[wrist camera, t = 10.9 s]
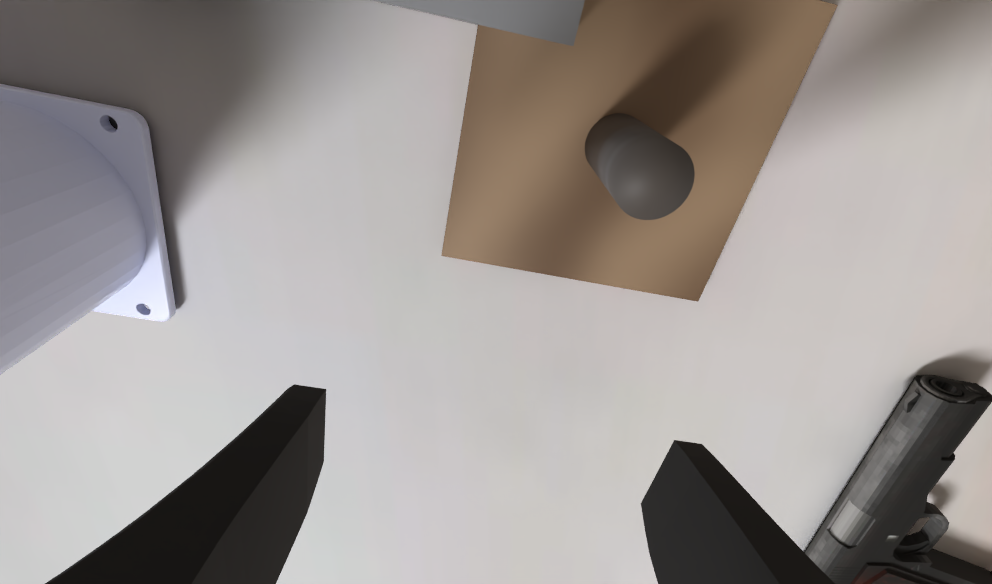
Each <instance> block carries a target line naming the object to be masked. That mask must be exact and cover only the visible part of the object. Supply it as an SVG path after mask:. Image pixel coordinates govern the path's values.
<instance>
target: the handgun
mask: <svg viewBox="0 0 992 584" xmlns="http://www.w3.org/2000/svg"><path fill="white" fill-rule="evenodd" d="M991 402H992V395H991V394H990V393H989V392H987V390H986V389H984V388H983V387H981V386H979V385H978V384H976V383H970V382H964V381H955V380H951V379H947V378H942V377H938V376H934V375H925V376H916V377H915V379H914V381H913V382H912V384H911V385H910V387H909V388H908V390H907V392H906V393H905V395H904V396H903V398H902V399H901V401H900V403H899V404H898V406H897V407H896V409H895V411H894V412H893V414H892V415H891V417H890V418H889V420H888V422H887V423H886V425H885V426H884V428H883V429H882V431H881V433H880V434H879V436H878V437H877V439H876V440H875V442H874V444H873V445H872V447H871V448H870V450H869V452H868V453H867V455H866V456H865V458H864V459H863V461H862V463H861V464H860V466H859V467H858V469H857V470H856V472H855V474H854V475H853V477H852V478H851V480H850V482H849V483H848V485H847V486H846V488H845V489H844V491H843V493H842V494H841V496H840V497H839V499H838V500H837V502H836V504H835V505H834V507H833V508H832V510H831V511H830V513H829V515H828V516H827V518H826V519H825V521H824V523H823V524H822V526H821V527H820V529H819V530H818V532H817V534H816V535H815V537H814V538H813V540H812V541H811V543H810V545H809V546H808V548H807V549H806V551H805V554H806V555H807V556H808V557H809V558H810V559H811V560H812V561H813V562H814V563H815V564H816V565H817V566H818V567H819V568H820V569H821V570H822V571H823V572H824V573H825V574H826V575H827V576H828V577H829V578H830V579H831V580H832V581H833V582H834V583H835V584H992V571H991V572H989V571H988V570H985V569H983V568H980V567H978V566H975V565H972V564H970V563H967V562H965V561H962V560H959V559H957V558H954V557H952V556H949V555H946V554H944V553H941V552H938V551H936V550H933V549H931V548H932V547H933V546H934V545H935V544H936V542H937V541H938V540H939V539H940V538H941V537H942V535H943V534H944V533H945V532H946V531H947V529H948V525H949V522H948V520H947V519H946V517H945V516H944V515H943V514H942V513H941V512H940V511H939V510H938V509H937V507H936V506H935V505H933V504H931V503H928V502H926V501H927V495H928V494H929V492H930V491H931V490H932V488H933V487H934V486H935V484H936V483H937V482H938V481H939V479H940V478H941V477H942V475H943V474H944V473H945V471H946V470H947V469H948V467H949V466H950V465H951V464H952V462H953V461H954V459H955V455H954V453H953V452H954V451H955V450H956V448H957V447H958V446H959V444H960V443H961V442H962V440H963V439H964V438H965V437H966V435H967V434H968V433H969V431H970V430H971V429H972V427H973V426H974V425H975V423H976V422H977V421H978V419H979V418H980V417H981V415H982V414H983V413H984V411H985V410H986V409H987V407H988V406H989V405H990V404H991ZM924 517H929V518H930V519H929V520H928V522H927V523H926V524H925V525H924V527H923V528H922V529H921V530H920V531H919V532H917V533H914V534H912V535H906V534H907V533H908V532H909V530H910V529H911V528H912V527H913V525H914V524H915V523H916V522H917V520H918V519H919V518H924Z"/></svg>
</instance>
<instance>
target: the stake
mask: <svg viewBox="0 0 992 584" xmlns="http://www.w3.org/2000/svg"><path fill="white" fill-rule="evenodd" d="M836 7H837V5H835V4H831V3H827V2H823V1H819V0H585V2H584V6H583V10H582V14H581V18H580V22H579V26H578V30H577V34H576V38H575V42H574V46H570V45H565V44H560V43H556V42H552V41H547V40H543V39H539V38H534V37H530V36H525V35H521V34H517V33H512V32H508V31H504V30H499V29H495V28H491V27H486V26H482V25H478V29H477V35H476V41H475V47H474V54H473V60H472V66H471V73H470V79H469V85H468V92H467V98H466V104H465V111H464V117H463V123H462V130H461V136H460V142H459V149H458V155H457V161H456V167H455V174H454V180H453V186H452V193H451V199H450V205H449V212H448V218H447V224H446V231H445V237H444V243H443V250H442V256H446V257H452V258H457V259H463V260H468V261H474V262H480V263H485V264H491V265H496V266H502V267H508V268H513V269H519V270H525V271H530V272H536V273H541V274H547V275H553V276H558V277H564V278H569V279H575V280H581V281H586V282H592V283H598V284H603V285H609V286H614V287H620V288H626V289H631V290H637V291H642V292H648V293H654V294H659V295H665V296H670V297H676V298H682V299H687V300H693V301H699V298H700V296H701V294H702V292H703V290H704V288H705V286H706V284H707V281H708V279H709V277H710V275H711V273H712V271H713V269H714V267H715V264H716V262H717V260H718V258H719V256H720V254H721V252H722V250H723V247H724V245H725V243H726V241H727V239H728V237H729V235H730V233H731V230H732V228H733V226H734V224H735V222H736V220H737V218H738V216H739V213H740V211H741V209H742V207H743V205H744V203H745V201H746V199H747V196H748V194H749V192H750V190H751V188H752V186H753V184H754V182H755V179H756V177H757V175H758V173H759V171H760V169H761V167H762V165H763V162H764V160H765V158H766V156H767V154H768V152H769V150H770V148H771V145H772V143H773V141H774V139H775V137H776V135H777V133H778V131H779V128H780V126H781V124H782V122H783V120H784V118H785V116H786V114H787V111H788V109H789V107H790V105H791V103H792V101H793V99H794V97H795V94H796V92H797V90H798V88H799V86H800V84H801V82H802V79H803V77H804V75H805V73H806V71H807V69H808V67H809V65H810V62H811V60H812V58H813V56H814V54H815V52H816V50H817V48H818V45H819V43H820V41H821V39H822V37H823V35H824V33H825V31H826V28H827V26H828V24H829V22H830V20H831V18H832V16H833V14H834V11H835V9H836Z"/></svg>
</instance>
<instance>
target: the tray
mask: <svg viewBox="0 0 992 584" xmlns="http://www.w3.org/2000/svg"><path fill="white" fill-rule="evenodd" d="M372 1H377V2H381V3H386V4H390V5H394V6H399V7H403V8H407V9H412V10H416V11H420V12H425V13H429V14H434V15H438V16H442V17H447V18H451V19H455V20H460V21H464V22H468V23H473V24H477V25H482V26H486V27H491V28H495V29H499V30H504V31H508V32H512V33H517V34H521V35H525V36H530V37H534V38H539V39H543V40H547V41H552V42H556V43H560V44H565V45H570V46H574V42H575V38H576V34H577V30H578V26H579V22H580V18H581V14H582V10H583V6H584V2H585V0H372Z"/></svg>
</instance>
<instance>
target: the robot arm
mask: <svg viewBox="0 0 992 584" xmlns="http://www.w3.org/2000/svg"><path fill="white" fill-rule="evenodd" d="M109 116H110V117H112V118H113V119H114V120H115V121H116V123H117V125H118V128H117V129H115V128H114V127H113V126H112V125H111V124H110V122H109ZM144 304H145V305H147V306H148V307H149V308H150V309H147V308H146V307H145V306H144ZM90 311H95V312H102V313H108V314H115V315H121V316H128V317H134V318H141V319H147V320H153V321H167V320H169V319H170V318H171V317H172V316H173V315H174V314H175V312H176V307H175V300H174V293H173V287H172V280H171V273H170V266H169V260H168V253H167V246H166V240H165V233H164V226H163V219H162V213H161V206H160V199H159V192H158V186H157V179H156V172H155V166H154V159H153V152H152V145H151V139H150V132H149V127H148V124H147V122H146V120H145V119H144V118H143V116H142V115H140V114H139V113H138V112H136V111H134V110H131V109H127V108H122V107H116V106H111V105H106V104H101V103H96V102H91V101H86V100H81V99H76V98H71V97H66V96H60V95H55V94H50V93H45V92H40V91H35V90H30V89H25V88H20V87H15V86H9V85H4V84H0V375H1V374H2V373H3V372H5V371H6V370H8V369H9V368H11V367H12V366H13V365H15V364H16V363H18V362H19V361H21V360H22V359H23V358H25V357H26V356H28V355H29V354H31V353H32V352H33V351H35V350H36V349H38V348H39V347H40V346H42V345H43V344H45V343H46V342H48V341H49V340H50V339H52V338H53V337H55V336H56V335H58V334H59V333H60V332H62V331H63V330H65V329H66V328H68V327H69V326H70V325H72V324H73V323H75V322H76V321H78V320H79V319H80V318H82V317H83V316H85V315H86V314H88V313H89V312H90ZM325 405H326V389H321V388H314V387H307V386H300V385H293V386H291V387H290V388H288V389H287V390H286V391H285V392H284V393H283V394H282V395H281V396H280V397H279V398H278V399H277V400H276V401H275V402H274V403H273V404H272V405H271V406H269V407H268V408H267V409H266V410H265V411H264V412H263V413H262V414H261V415H260V416H259V417H258V418H257V419H256V420H255V421H254V422H252V423H251V424H250V425H249V426H248V427H247V428H246V429H245V430H244V431H243V432H242V433H240V434H239V435H238V436H237V437H236V438H235V439H234V440H233V441H231V442H230V443H229V444H228V445H227V446H226V447H224V448H223V449H222V450H221V451H220V452H219V453H218V454H216V455H215V456H214V457H213V458H212V459H211V460H210V461H208V462H207V463H206V464H205V465H204V466H203V467H201V468H200V469H199V470H198V471H197V472H195V473H194V474H193V475H192V476H191V477H189V478H188V479H187V480H186V481H184V482H183V483H182V484H181V485H179V486H178V487H177V488H176V489H174V490H173V491H172V492H171V493H169V494H168V495H167V496H166V497H164V498H163V499H162V500H160V501H159V502H158V503H157V504H155V505H154V506H153V507H152V508H150V509H149V510H148V511H147V512H145V513H144V514H143V515H141V516H140V517H139V518H137V519H136V520H135V521H133V522H132V523H131V524H129V525H128V526H127V527H125V528H124V529H123V530H121V531H120V532H119V533H117V534H116V535H115V536H113V537H112V538H110V539H109V540H108V541H106V542H105V543H104V544H102V545H101V546H99V547H98V548H96V549H95V550H94V551H92V552H91V553H89V554H88V555H87V556H85V557H84V558H82V559H81V560H79V561H78V562H77V563H75V564H74V565H72V566H71V567H69V568H68V569H66V570H65V571H64V572H62V573H61V574H59V575H58V576H56V577H55V578H53V579H52V580H50V581H48V582H47V583H45V584H276V582H277V580H278V577H279V575H280V573H281V571H282V568H283V566H284V564H285V562H286V560H287V557H288V555H289V553H290V551H291V548H292V546H293V544H294V541H295V539H296V537H297V535H298V532H299V530H300V528H301V526H302V523H303V521H304V519H305V516H306V514H307V511H308V508H309V505H310V502H311V499H312V496H313V493H314V490H315V487H316V484H317V481H318V478H319V475H320V472H321V468H322V465H323V462H324V435H325ZM641 507H642V513H643V519H644V526H645V532H646V537H647V542H648V548H649V553H650V557H651V560H652V564H653V567H654V571H655V574H656V578H657V581H658V584H835V583H834V582H833V581H832V580H831V579H830V578H829V577H828V576H827V575H826V574H825V573H824V572H823V571H822V570H821V569H820V568H819V567H818V566H817V565H816V564H815V563H814V562H813V561H812V560H811V559H810V558H809V557H808V556H807V555H806V554H805V553H804V552H803V551H802V550H801V549H800V548H799V547H798V546H797V545H796V544H795V543H794V541H793V540H792V539H791V538H790V537H789V536H788V535H787V534H786V533H785V532H784V531H783V530H782V529H781V528H780V527H779V526H778V525H777V524H776V522H775V521H774V520H773V519H772V518H771V517H770V516H769V515H768V514H767V513H766V512H765V511H764V510H763V509H762V507H761V506H760V505H759V504H758V503H757V502H756V501H755V500H754V499H753V498H752V497H751V496H750V494H749V493H748V492H747V491H746V490H745V489H744V488H743V487H742V486H741V485H740V484H739V483H738V481H737V480H736V479H735V478H734V477H733V476H732V475H731V474H730V473H729V472H728V471H727V470H726V469H725V467H724V466H723V465H722V464H721V463H720V462H719V461H718V460H717V459H716V458H715V457H714V456H713V455H712V454H711V453H710V452H709V451H708V450H707V449H706V448H705V447H704V446H703V445H702V444H697V443H690V442H683V441H676V440H674V442H673V444H672V446H671V448H670V450H669V452H668V453H667V455H666V457H665V459H664V461H663V463H662V465H661V467H660V469H659V470H658V472H657V474H656V476H655V478H654V480H653V482H652V484H651V486H650V487H649V489H648V491H647V493H646V495H645V497H644V499H643V501H642V503H641Z"/></svg>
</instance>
